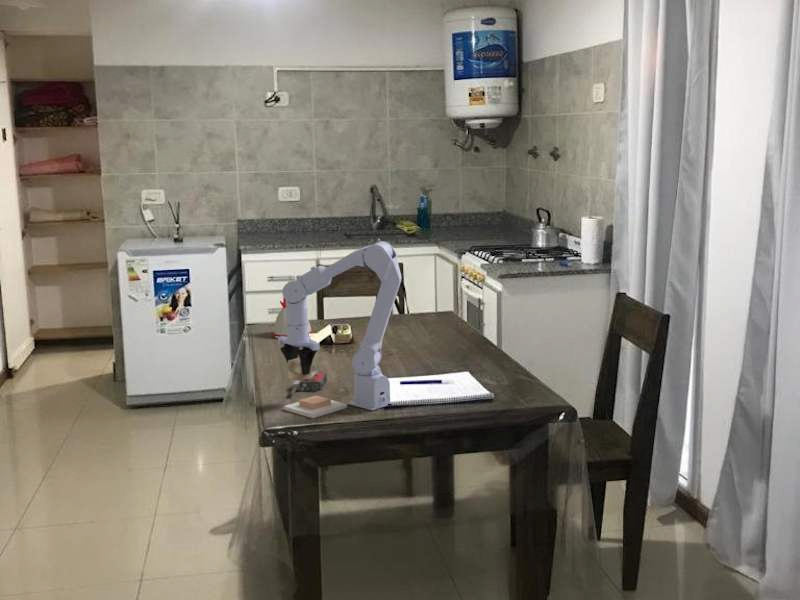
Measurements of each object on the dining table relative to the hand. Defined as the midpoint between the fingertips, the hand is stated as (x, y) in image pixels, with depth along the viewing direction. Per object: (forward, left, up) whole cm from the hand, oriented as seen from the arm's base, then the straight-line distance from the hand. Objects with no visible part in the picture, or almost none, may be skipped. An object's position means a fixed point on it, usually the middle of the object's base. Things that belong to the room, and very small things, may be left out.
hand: (299, 372), depth 254 cm
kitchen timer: (+71, -55, -9) cm, 91 cm away
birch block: (0, 0, -1) cm, 1 cm away
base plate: (-8, +2, -8) cm, 12 cm away
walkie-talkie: (+10, -11, -9) cm, 17 cm away
